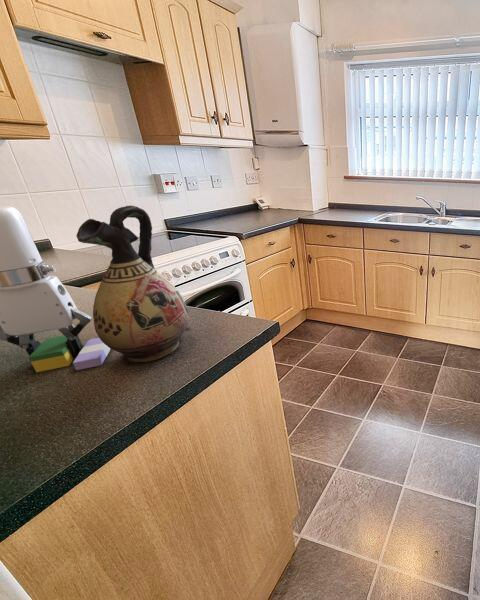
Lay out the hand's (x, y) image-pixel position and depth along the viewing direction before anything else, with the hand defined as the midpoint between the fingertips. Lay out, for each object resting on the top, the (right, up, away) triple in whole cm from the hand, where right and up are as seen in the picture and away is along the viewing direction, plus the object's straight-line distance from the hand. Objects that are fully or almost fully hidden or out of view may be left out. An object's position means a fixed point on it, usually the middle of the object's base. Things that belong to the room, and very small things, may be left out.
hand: (60, 357), depth 69 cm
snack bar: (+7, 0, +1) cm, 7 cm away
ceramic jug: (+18, +1, +3) cm, 19 cm away
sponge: (0, 0, 0) cm, 0 cm away
